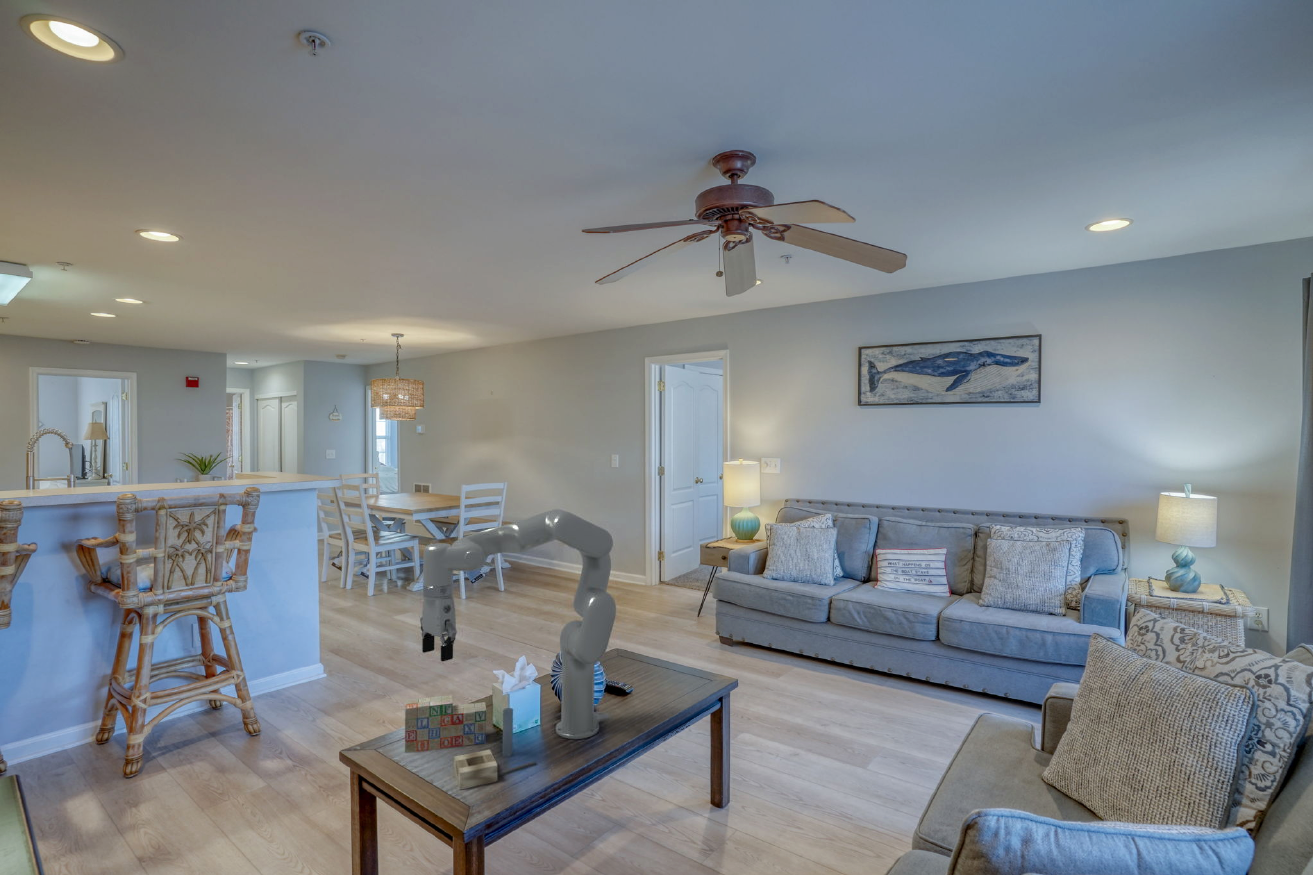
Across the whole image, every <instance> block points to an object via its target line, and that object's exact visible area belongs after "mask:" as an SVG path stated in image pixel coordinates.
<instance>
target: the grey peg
mask: <svg viewBox="0 0 1313 875" xmlns="http://www.w3.org/2000/svg"><path fill="white" fill-rule="evenodd" d="M513 731H514V708H512V707H506V708H504V709H502V756H503V758H508V757H512V756H513V743H514V742H513V741H514V740H513V739H514V738H513V736H514V734H513V733H514V732H513Z"/></svg>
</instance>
